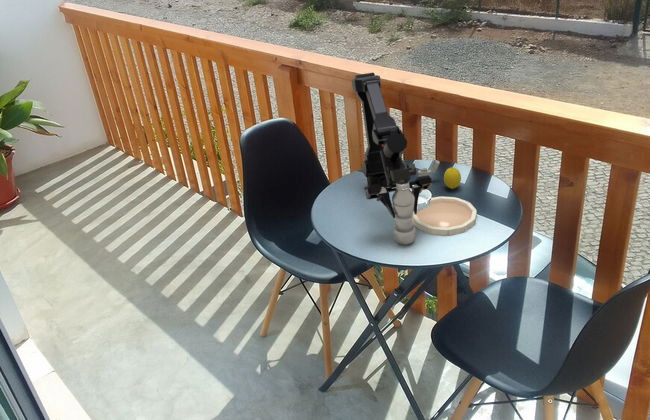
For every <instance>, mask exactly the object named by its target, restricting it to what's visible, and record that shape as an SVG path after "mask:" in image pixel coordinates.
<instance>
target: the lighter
mask: <svg viewBox="0 0 650 420" xmlns="http://www.w3.org/2000/svg"><path fill="white" fill-rule="evenodd" d="M439 165H440V160H437V159H435V160H434V162H433V164H432V166H431V168H430V169H428V167H422V168H420V169H419V170H417V175H418V176H417V177H421V176H426V175H429V176H430V177H431V175H432V174H435V173H436V171H437V170H438V167H439ZM431 178H432V177H431Z"/></svg>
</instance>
